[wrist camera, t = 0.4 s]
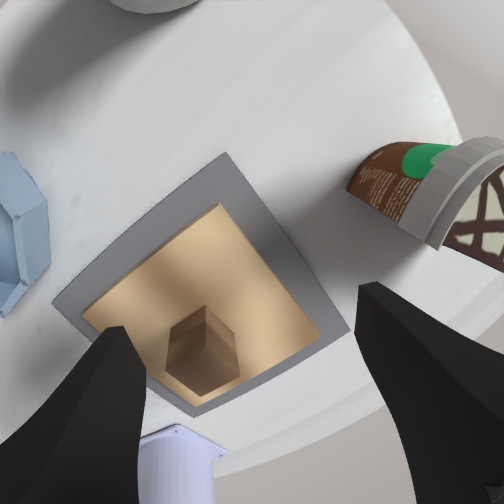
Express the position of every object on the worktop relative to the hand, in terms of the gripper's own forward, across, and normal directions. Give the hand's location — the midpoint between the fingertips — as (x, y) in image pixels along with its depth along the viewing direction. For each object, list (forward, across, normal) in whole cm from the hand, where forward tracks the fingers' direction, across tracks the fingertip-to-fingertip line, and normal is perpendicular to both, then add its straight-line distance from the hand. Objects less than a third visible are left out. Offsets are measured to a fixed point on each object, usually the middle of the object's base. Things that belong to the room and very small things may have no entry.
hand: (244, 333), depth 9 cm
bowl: (+10, +16, -3) cm, 19 cm away
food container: (+11, -13, -1) cm, 17 cm away
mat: (+10, +3, +7) cm, 12 cm away
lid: (+9, +3, +7) cm, 12 cm away
